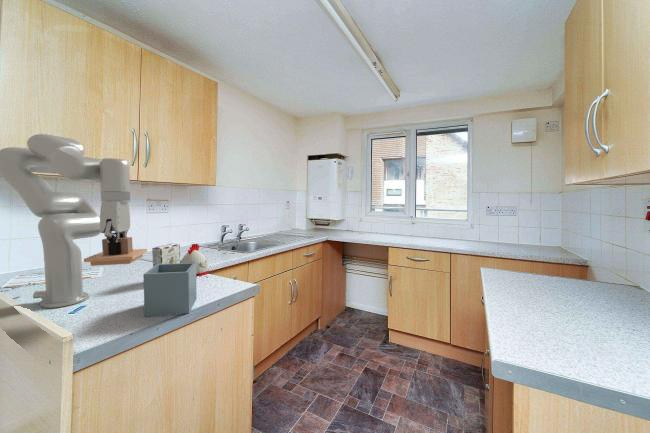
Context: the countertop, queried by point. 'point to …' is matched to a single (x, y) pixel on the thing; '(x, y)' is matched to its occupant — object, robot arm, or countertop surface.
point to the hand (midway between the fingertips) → (118, 252)
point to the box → (169, 289)
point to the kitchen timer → (196, 260)
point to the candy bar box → (166, 254)
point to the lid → (125, 257)
